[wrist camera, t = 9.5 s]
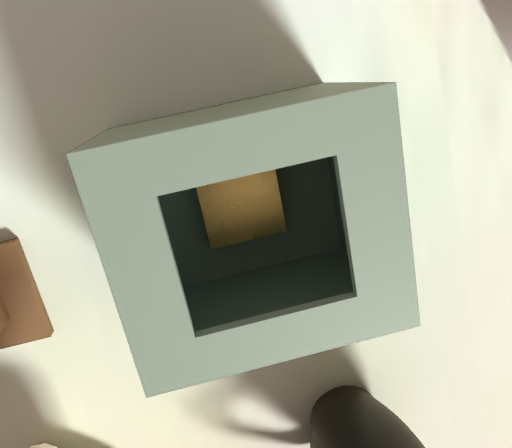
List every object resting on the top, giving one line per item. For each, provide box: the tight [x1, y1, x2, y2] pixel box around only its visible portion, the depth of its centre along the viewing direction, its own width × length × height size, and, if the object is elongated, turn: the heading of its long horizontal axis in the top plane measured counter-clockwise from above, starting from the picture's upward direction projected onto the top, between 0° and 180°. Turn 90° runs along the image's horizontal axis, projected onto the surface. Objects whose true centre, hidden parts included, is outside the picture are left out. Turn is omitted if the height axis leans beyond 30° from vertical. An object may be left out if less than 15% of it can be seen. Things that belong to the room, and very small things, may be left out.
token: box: [196, 169, 287, 249], centre depth 30 cm, size 5×5×2 cm
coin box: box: [66, 82, 420, 398], centre depth 26 cm, size 14×12×11 cm
